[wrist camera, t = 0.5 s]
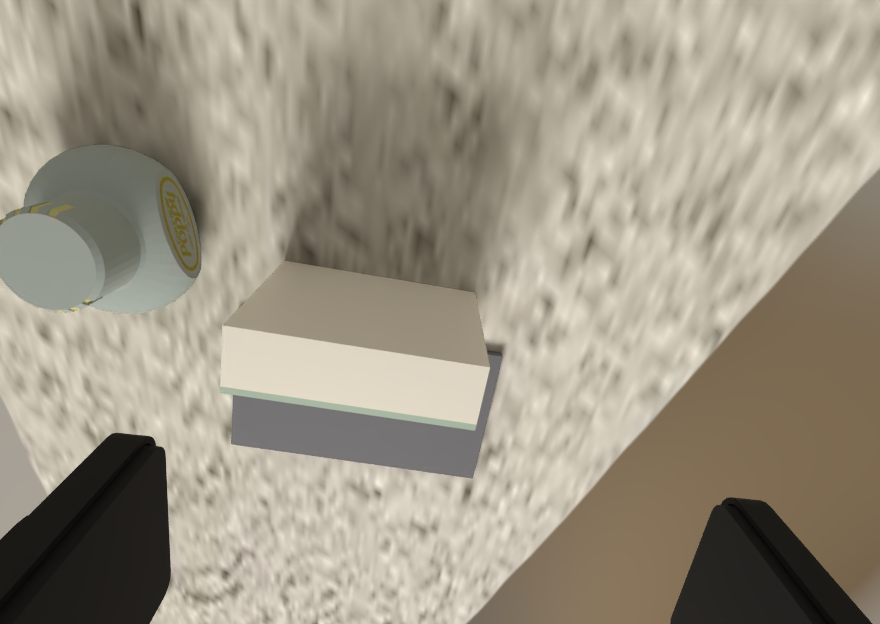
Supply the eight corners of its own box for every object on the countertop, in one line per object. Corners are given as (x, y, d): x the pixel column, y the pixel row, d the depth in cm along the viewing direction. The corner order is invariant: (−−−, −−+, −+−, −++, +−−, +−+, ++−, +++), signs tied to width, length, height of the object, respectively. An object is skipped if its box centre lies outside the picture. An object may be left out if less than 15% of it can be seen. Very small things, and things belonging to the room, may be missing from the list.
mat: (239, 311, 40) (236, 314, 39) (501, 353, 41) (502, 356, 41) (233, 439, 44) (231, 444, 43) (472, 473, 45) (472, 478, 45)
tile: (284, 260, 39) (222, 325, 27) (474, 292, 40) (490, 367, 28) (280, 311, 40) (220, 392, 29) (464, 340, 41) (475, 430, 30)
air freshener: (54, 150, 36) (-81, 167, 26) (175, 133, 35) (81, 145, 26) (112, 302, 40) (12, 364, 30) (221, 289, 39) (154, 347, 30)
